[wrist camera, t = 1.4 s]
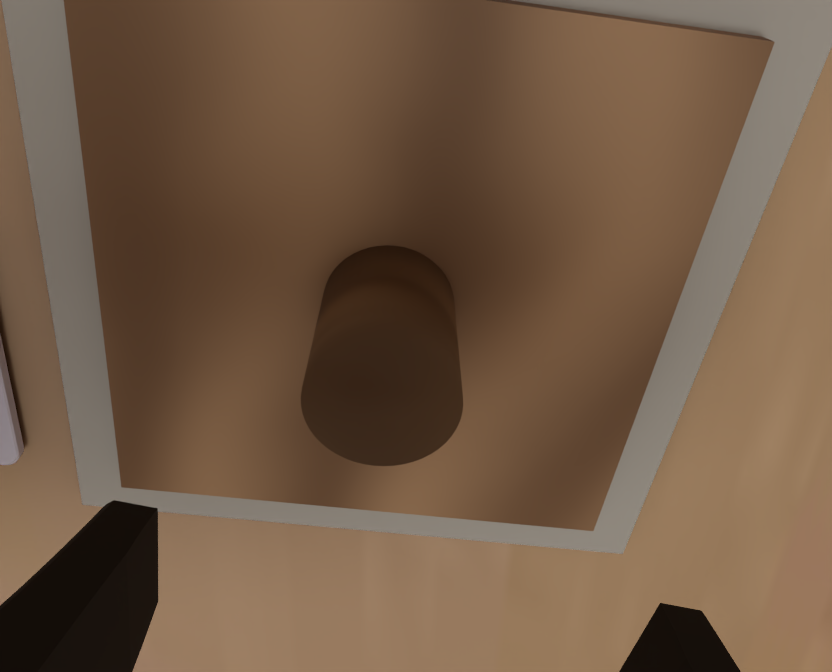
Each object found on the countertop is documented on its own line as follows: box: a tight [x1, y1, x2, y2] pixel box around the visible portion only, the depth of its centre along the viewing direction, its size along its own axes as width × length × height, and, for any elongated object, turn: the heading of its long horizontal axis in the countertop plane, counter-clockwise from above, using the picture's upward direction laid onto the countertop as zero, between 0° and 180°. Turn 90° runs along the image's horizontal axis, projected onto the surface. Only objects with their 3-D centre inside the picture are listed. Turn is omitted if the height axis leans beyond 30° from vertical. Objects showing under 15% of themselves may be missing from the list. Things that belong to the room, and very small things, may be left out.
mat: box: [2, 0, 832, 554], centre depth 18 cm, size 17×17×1 cm
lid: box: [64, 0, 775, 531], centre depth 16 cm, size 14×14×5 cm
